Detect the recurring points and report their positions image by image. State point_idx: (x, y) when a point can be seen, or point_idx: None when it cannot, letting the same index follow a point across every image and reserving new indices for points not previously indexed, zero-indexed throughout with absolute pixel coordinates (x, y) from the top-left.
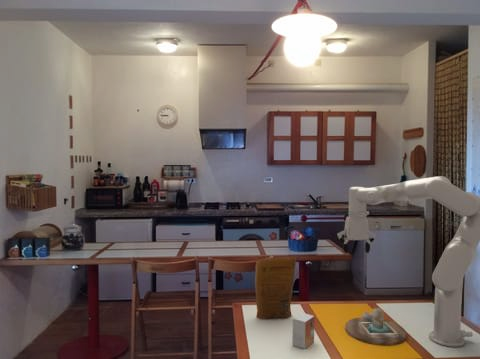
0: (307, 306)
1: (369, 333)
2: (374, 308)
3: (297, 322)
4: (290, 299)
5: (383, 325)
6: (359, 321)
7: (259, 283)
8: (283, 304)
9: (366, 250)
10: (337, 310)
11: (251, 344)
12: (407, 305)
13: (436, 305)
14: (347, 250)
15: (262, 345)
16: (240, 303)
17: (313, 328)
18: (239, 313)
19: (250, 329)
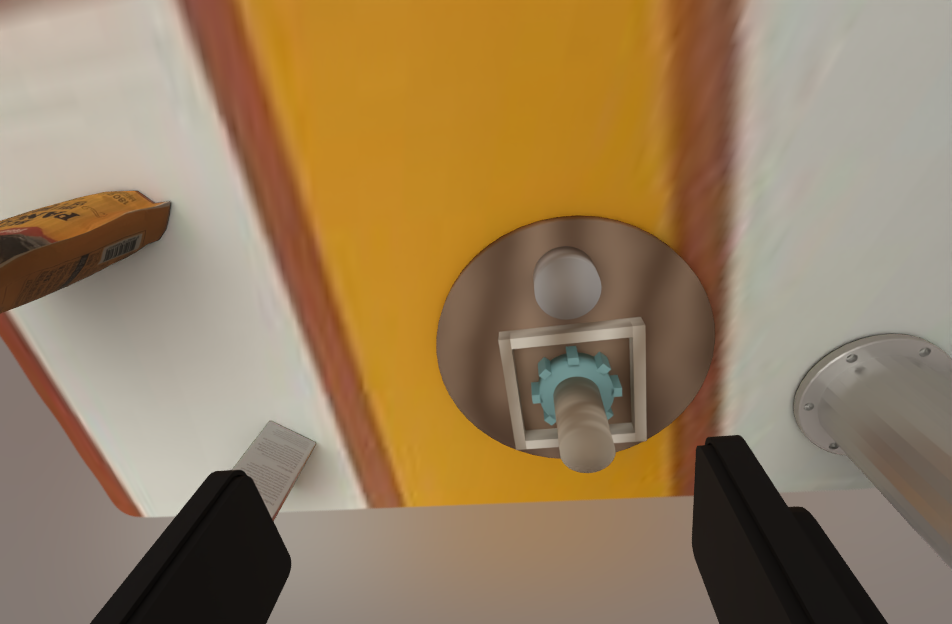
0: (222, 16)
1: (522, 442)
2: (571, 435)
3: None
4: (91, 237)
5: (608, 380)
6: (514, 283)
7: None
8: (83, 275)
9: (709, 552)
10: (417, 66)
11: (122, 468)
12: None
13: (935, 533)
14: (271, 611)
15: (157, 471)
16: None
17: (290, 488)
18: None
19: (62, 367)
